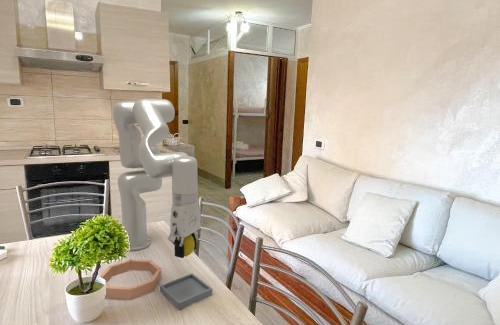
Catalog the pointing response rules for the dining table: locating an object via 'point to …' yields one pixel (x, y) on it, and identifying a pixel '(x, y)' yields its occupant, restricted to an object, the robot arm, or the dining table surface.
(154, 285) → the collar
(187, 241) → the lemon
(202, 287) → the tray
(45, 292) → the dining table surface
